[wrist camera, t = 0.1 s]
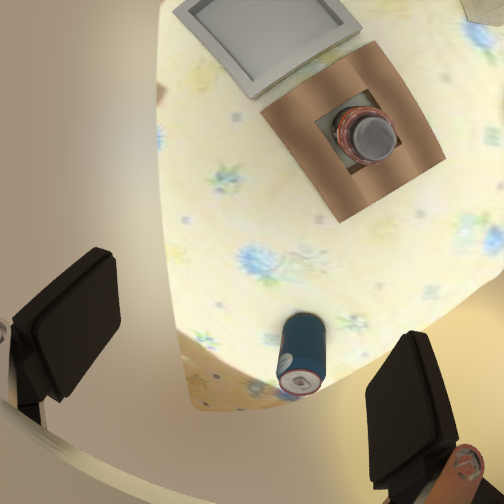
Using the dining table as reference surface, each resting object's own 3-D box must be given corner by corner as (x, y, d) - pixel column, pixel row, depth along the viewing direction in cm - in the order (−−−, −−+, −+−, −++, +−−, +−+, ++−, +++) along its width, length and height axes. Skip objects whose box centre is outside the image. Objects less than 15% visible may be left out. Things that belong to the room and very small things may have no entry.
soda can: (275, 321, 48) (264, 377, 38) (312, 304, 45) (310, 361, 35) (297, 347, 50) (291, 403, 40) (333, 332, 47) (334, 389, 37)
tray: (277, -48, 23) (274, -58, 20) (358, 33, 27) (362, 27, 24) (181, 17, 29) (171, 11, 27) (254, 99, 34) (250, 99, 31)
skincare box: (489, 1, 18) (532, -17, 8) (498, 26, 20) (545, 14, 10) (457, -5, 20) (498, -30, 10) (467, 22, 22) (513, 3, 11)
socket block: (368, 46, 28) (374, 40, 25) (435, 153, 32) (446, 158, 29) (264, 112, 34) (260, 112, 31) (336, 213, 38) (339, 223, 35)
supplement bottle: (325, 143, 35) (332, 157, 25) (339, 99, 32) (352, 95, 22) (370, 159, 34) (393, 180, 24) (384, 116, 31) (414, 120, 21)
